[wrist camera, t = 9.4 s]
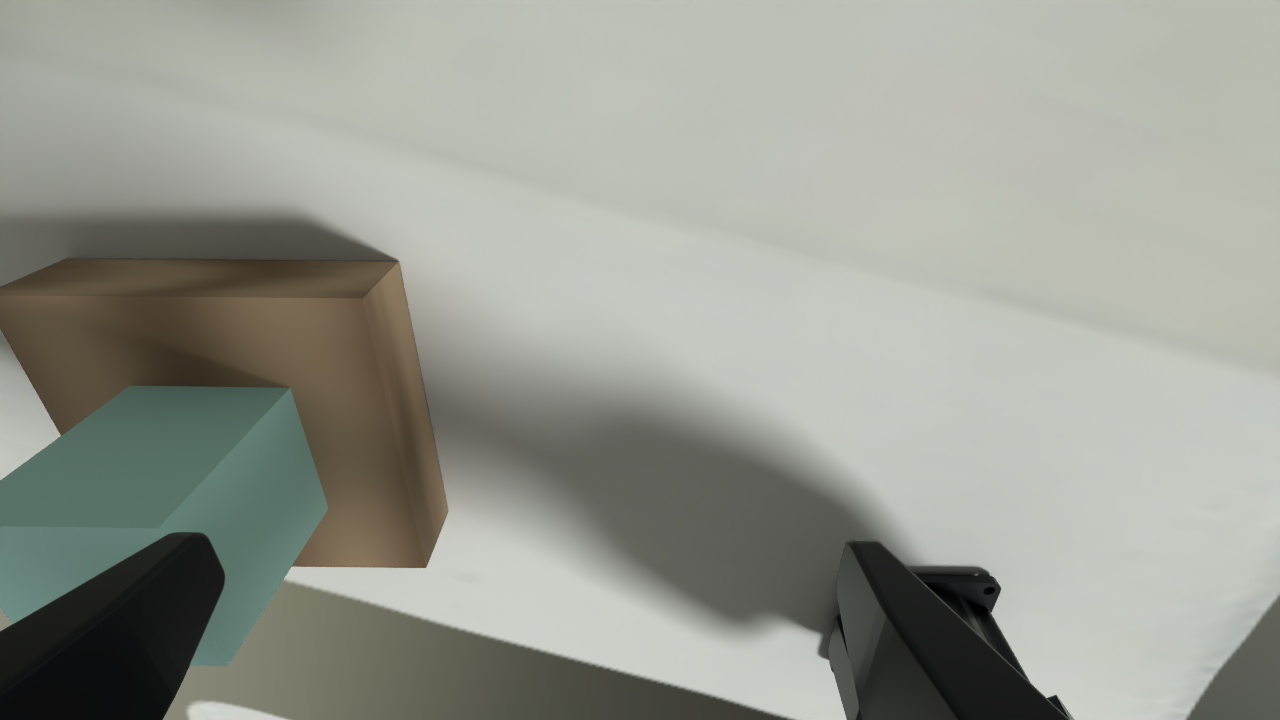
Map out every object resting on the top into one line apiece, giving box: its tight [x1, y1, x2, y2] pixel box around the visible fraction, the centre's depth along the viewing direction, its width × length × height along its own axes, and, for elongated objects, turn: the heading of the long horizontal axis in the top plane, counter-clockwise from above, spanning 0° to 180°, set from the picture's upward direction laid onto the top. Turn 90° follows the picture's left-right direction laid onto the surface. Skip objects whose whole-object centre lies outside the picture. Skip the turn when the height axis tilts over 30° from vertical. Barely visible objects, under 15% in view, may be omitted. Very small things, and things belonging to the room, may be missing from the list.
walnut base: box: [0, 259, 448, 568], centre depth 22 cm, size 11×11×3 cm
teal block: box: [0, 386, 328, 666], centre depth 18 cm, size 5×5×6 cm
